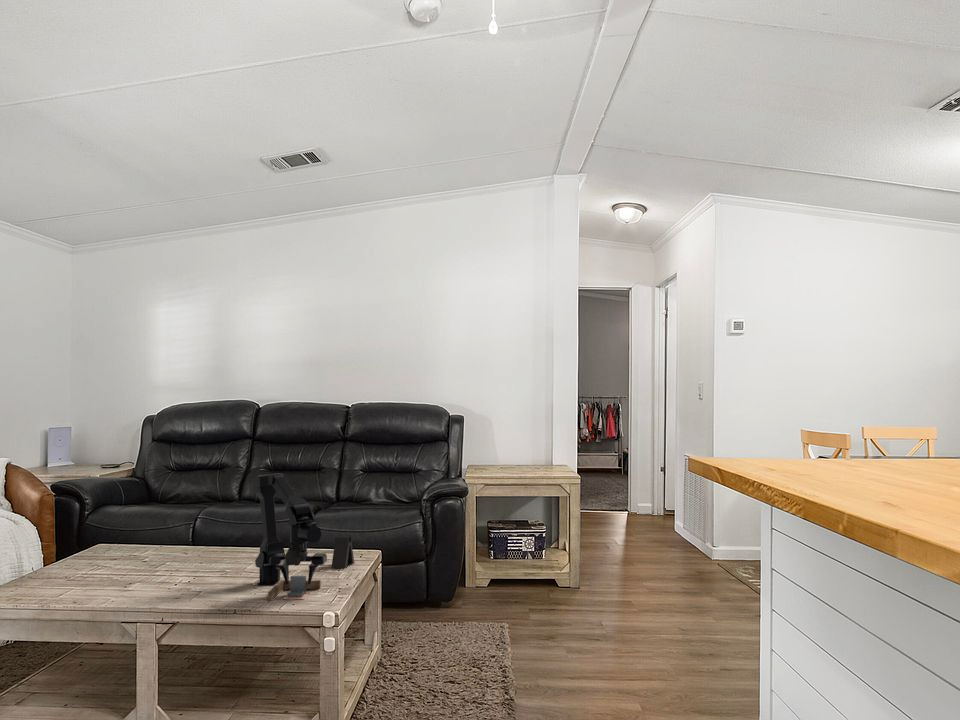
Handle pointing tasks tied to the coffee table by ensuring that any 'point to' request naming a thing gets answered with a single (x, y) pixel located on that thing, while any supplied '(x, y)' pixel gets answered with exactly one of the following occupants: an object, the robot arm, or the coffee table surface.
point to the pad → (297, 597)
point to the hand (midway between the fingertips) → (298, 583)
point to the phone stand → (342, 552)
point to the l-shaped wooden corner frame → (282, 585)
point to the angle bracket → (297, 586)
